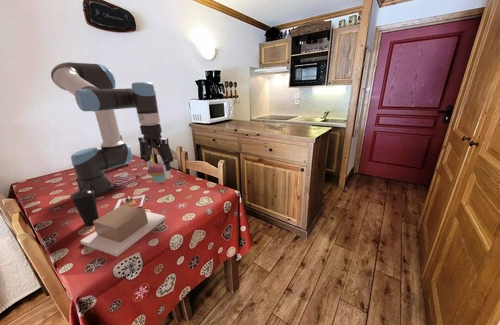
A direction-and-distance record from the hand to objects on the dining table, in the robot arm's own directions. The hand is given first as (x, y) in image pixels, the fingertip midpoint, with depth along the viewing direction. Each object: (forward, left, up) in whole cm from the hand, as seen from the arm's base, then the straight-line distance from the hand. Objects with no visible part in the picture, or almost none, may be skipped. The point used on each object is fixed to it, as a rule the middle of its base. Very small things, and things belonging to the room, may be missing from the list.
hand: (159, 176), depth 89 cm
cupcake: (0, 0, -2) cm, 2 cm away
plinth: (-3, -18, -16) cm, 24 cm away
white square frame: (-20, -3, -17) cm, 26 cm away
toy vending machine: (-75, +33, -16) cm, 83 cm away
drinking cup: (-22, -19, -16) cm, 33 cm away
